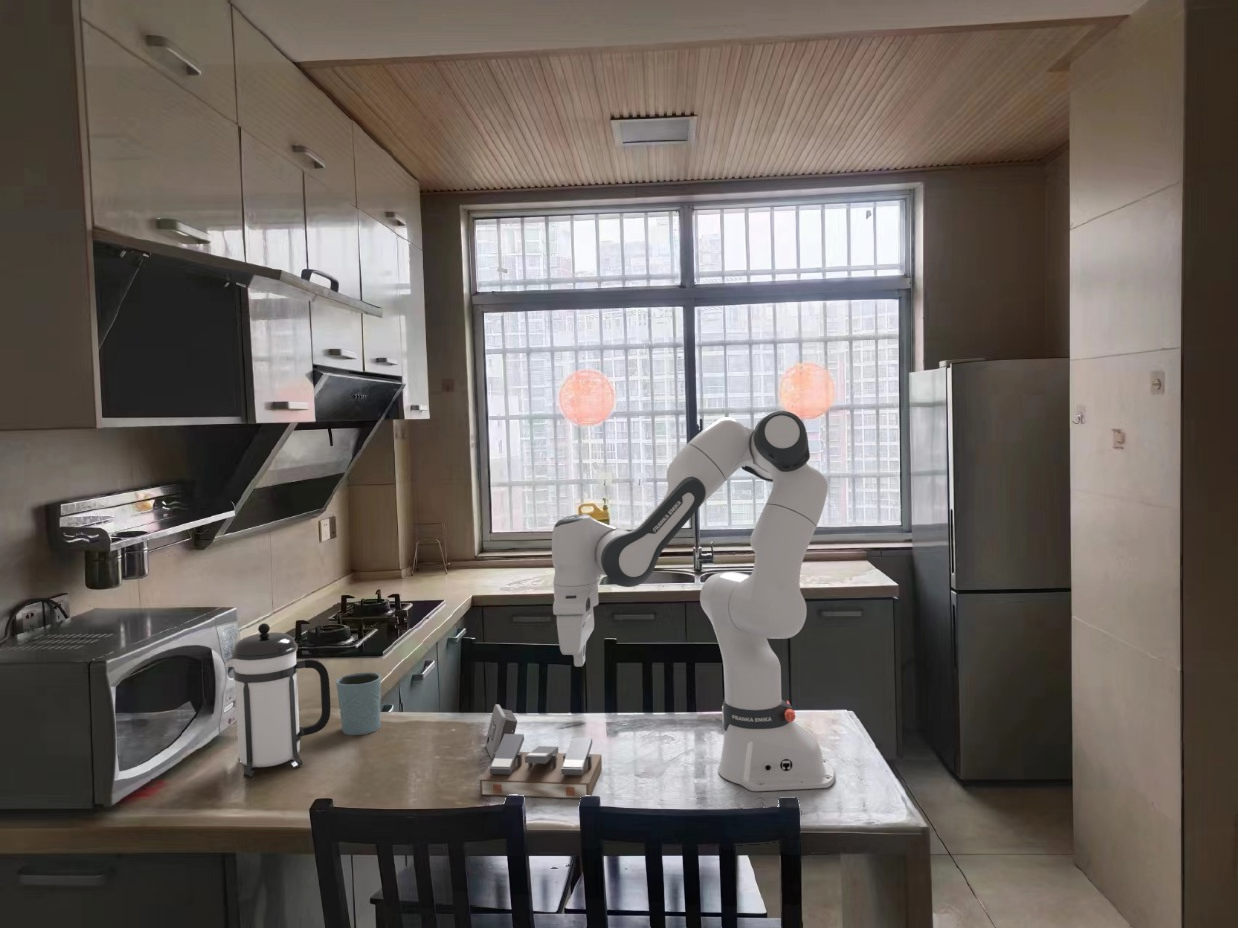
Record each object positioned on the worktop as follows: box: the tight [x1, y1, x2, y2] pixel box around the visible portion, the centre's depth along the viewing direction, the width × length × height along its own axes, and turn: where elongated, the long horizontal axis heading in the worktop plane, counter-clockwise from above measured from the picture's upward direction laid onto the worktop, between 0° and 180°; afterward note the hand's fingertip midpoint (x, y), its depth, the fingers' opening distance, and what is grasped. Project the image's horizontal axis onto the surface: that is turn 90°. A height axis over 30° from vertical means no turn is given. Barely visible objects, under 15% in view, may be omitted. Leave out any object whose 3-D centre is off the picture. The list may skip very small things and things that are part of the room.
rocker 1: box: [489, 733, 525, 774], centre depth 169 cm, size 4×11×1 cm, turn 172°
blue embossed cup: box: [335, 672, 382, 736], centre depth 201 cm, size 10×10×12 cm
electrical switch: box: [484, 704, 518, 760], centre depth 185 cm, size 9×5×9 cm, turn 17°
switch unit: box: [479, 751, 603, 800], centre depth 168 cm, size 21×14×5 cm
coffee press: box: [224, 623, 331, 779], centre depth 181 cm, size 17×16×30 cm
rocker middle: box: [525, 745, 559, 764], centre depth 168 cm, size 4×11×1 cm, turn 172°
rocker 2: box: [561, 736, 593, 775], centre depth 167 cm, size 4×11×1 cm, turn 172°
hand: (579, 664), depth 173 cm, fingers closed
